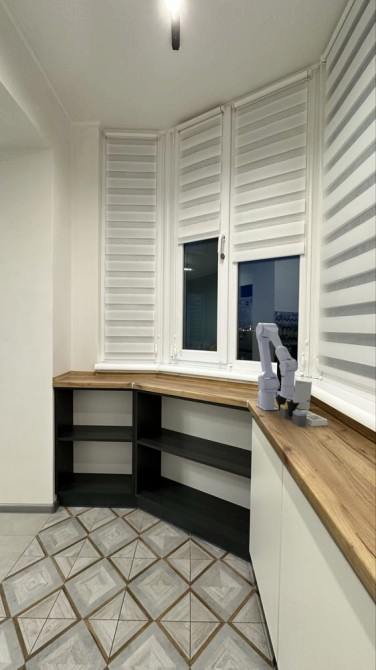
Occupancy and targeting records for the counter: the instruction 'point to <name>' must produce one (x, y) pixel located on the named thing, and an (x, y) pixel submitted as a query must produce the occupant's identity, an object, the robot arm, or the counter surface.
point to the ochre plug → (284, 412)
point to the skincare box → (303, 393)
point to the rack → (314, 419)
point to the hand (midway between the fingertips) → (286, 414)
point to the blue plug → (299, 418)
